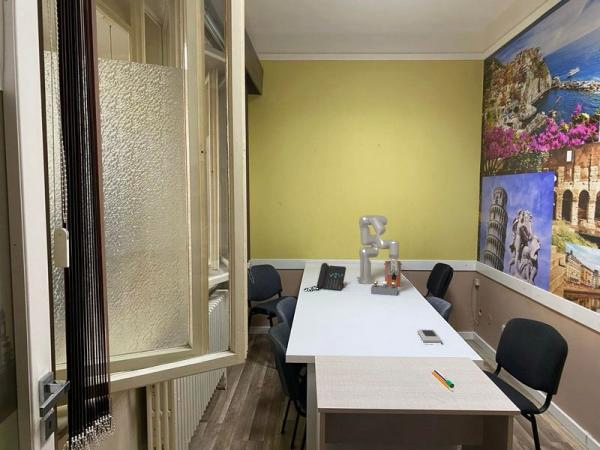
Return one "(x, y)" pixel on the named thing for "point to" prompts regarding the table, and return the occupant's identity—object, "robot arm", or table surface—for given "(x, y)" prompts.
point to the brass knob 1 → (375, 283)
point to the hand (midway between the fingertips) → (393, 279)
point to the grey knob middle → (384, 283)
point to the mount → (384, 290)
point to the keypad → (429, 336)
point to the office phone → (330, 278)
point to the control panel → (389, 274)
